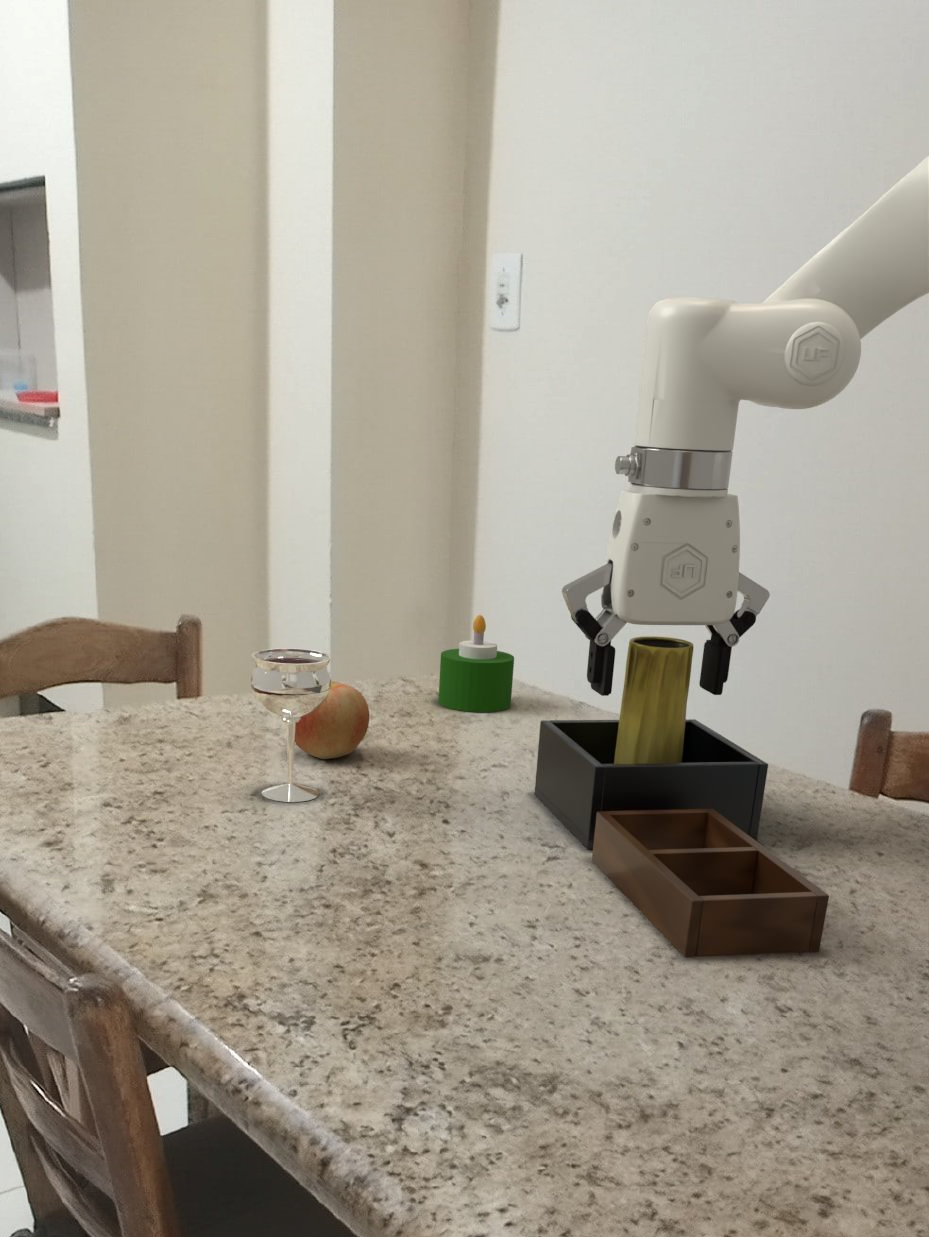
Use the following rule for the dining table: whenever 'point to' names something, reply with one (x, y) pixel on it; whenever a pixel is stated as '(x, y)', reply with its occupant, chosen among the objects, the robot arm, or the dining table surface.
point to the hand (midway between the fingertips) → (655, 691)
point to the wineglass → (291, 700)
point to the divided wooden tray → (708, 883)
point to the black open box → (644, 777)
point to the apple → (334, 724)
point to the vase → (654, 701)
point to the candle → (476, 675)
